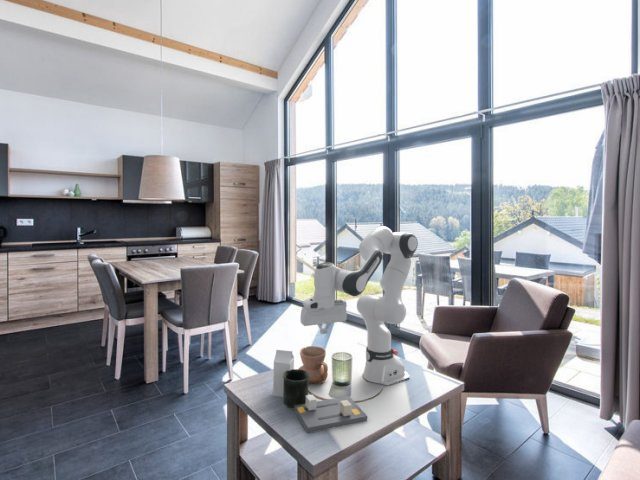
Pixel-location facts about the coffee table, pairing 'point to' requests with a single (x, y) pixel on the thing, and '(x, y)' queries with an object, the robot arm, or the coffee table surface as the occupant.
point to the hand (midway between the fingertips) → (323, 333)
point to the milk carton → (281, 370)
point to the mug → (295, 387)
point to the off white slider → (310, 402)
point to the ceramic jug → (314, 363)
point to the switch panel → (328, 415)
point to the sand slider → (345, 407)
